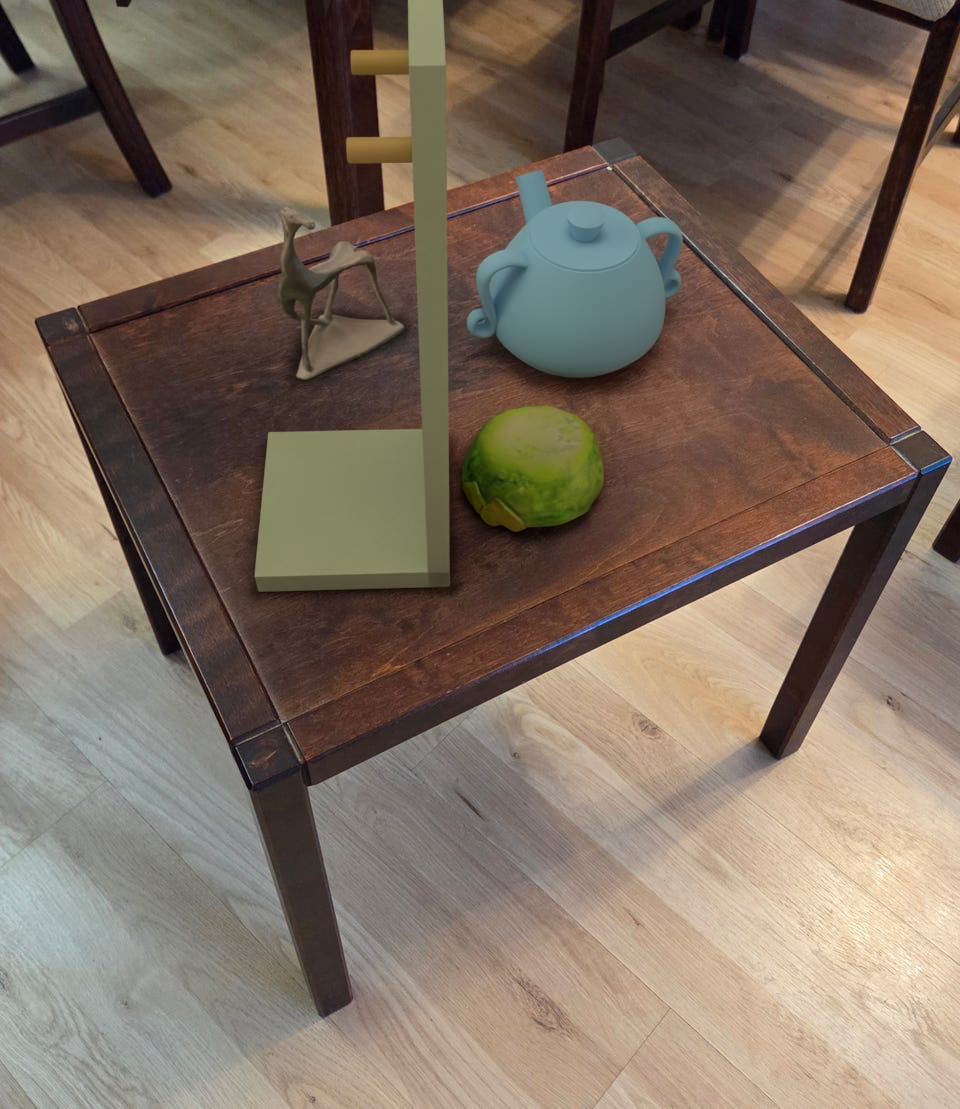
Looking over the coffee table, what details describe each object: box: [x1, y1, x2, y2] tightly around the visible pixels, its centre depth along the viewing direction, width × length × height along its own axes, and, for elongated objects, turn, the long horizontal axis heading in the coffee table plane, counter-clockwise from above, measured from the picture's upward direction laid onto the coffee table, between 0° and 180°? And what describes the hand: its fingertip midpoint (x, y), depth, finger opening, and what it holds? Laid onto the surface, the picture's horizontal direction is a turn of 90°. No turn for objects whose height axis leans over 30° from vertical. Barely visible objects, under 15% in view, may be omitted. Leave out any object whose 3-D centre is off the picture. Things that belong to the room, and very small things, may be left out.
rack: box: [254, 0, 451, 593], centre depth 65 cm, size 14×14×40 cm
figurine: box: [276, 205, 405, 381], centre depth 87 cm, size 11×6×15 cm, turn 123°
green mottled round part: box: [461, 404, 605, 533], centre depth 82 cm, size 12×11×5 cm
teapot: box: [466, 169, 684, 379], centre depth 90 cm, size 20×20×13 cm
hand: (225, 3), depth 73 cm, fingers open, 13 cm apart
